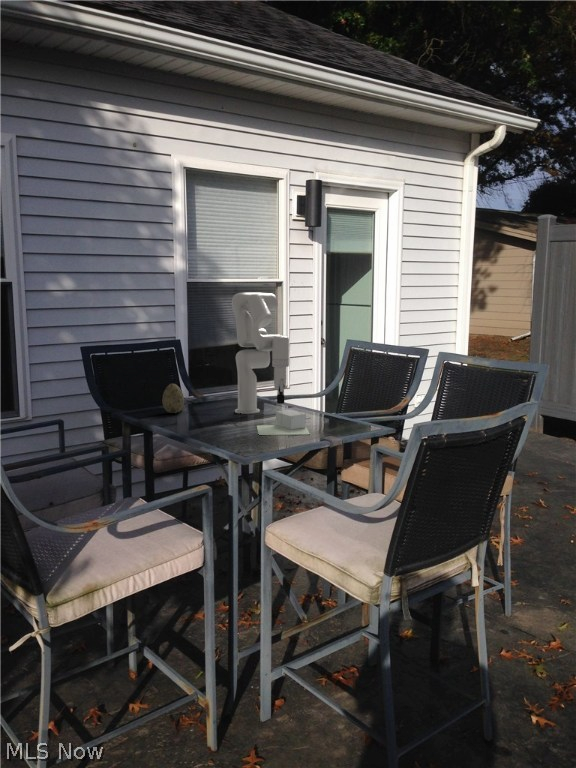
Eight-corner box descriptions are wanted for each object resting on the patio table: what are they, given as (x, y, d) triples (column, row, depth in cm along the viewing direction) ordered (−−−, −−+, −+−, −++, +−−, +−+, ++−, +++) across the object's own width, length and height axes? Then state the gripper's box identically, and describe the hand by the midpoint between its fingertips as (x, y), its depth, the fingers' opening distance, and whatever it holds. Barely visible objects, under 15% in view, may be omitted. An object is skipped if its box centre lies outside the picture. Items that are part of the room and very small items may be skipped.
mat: (256, 426, 308) (256, 425, 308) (304, 425, 310) (304, 424, 310) (258, 435, 288) (258, 434, 288) (310, 434, 290) (310, 433, 290)
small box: (275, 425, 309) (290, 430, 298) (275, 411, 308) (290, 415, 297) (290, 422, 313) (306, 427, 302) (290, 409, 312) (305, 413, 301)
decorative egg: (162, 411, 344) (161, 382, 342) (183, 411, 346) (183, 382, 344) (162, 415, 333) (162, 385, 331) (184, 414, 335) (184, 384, 333)
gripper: (271, 361, 314) (271, 400, 316) (273, 364, 299) (273, 406, 301) (287, 361, 314) (287, 400, 317) (290, 364, 300) (290, 405, 302)
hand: (280, 403), depth 309 cm, fingers closed
